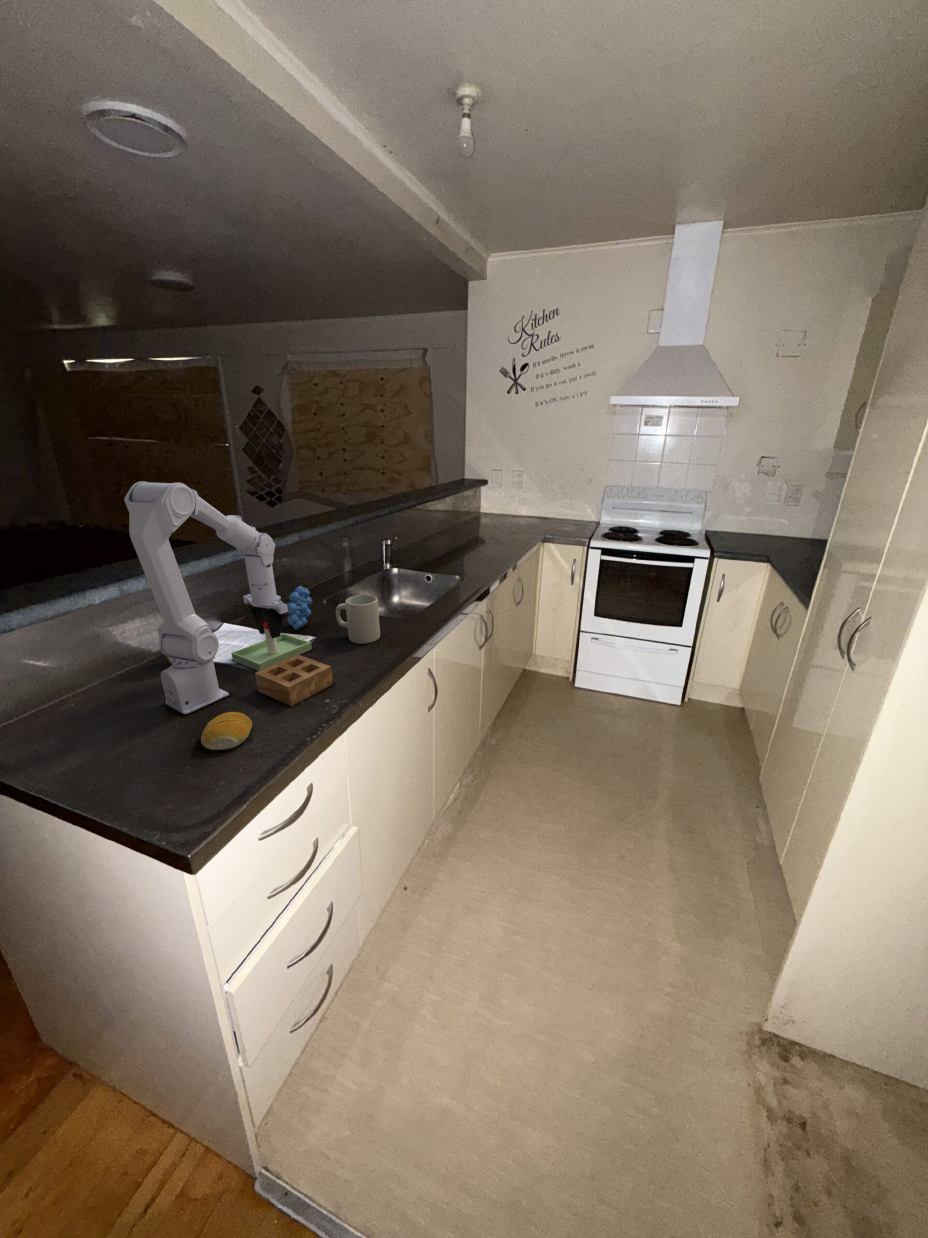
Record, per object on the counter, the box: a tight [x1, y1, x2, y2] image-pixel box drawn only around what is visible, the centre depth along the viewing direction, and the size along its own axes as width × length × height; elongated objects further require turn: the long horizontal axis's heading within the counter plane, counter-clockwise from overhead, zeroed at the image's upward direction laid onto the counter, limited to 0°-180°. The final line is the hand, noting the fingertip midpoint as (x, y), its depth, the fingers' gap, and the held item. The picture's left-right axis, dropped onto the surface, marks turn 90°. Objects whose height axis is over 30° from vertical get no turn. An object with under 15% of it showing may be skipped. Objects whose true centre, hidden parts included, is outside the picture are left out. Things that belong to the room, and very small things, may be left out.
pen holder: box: [254, 654, 334, 707], centre depth 106 cm, size 11×11×4 cm
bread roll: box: [200, 711, 253, 751], centre depth 89 cm, size 8×9×4 cm
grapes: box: [286, 585, 313, 631], centre depth 138 cm, size 12×7×12 cm, turn 168°
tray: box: [231, 632, 313, 672], centre depth 122 cm, size 15×11×2 cm
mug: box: [335, 594, 381, 645], centre depth 131 cm, size 12×8×11 cm
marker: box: [263, 622, 278, 655], centre depth 121 cm, size 2×2×8 cm
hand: (270, 634), depth 121 cm, fingers open, 4 cm apart
